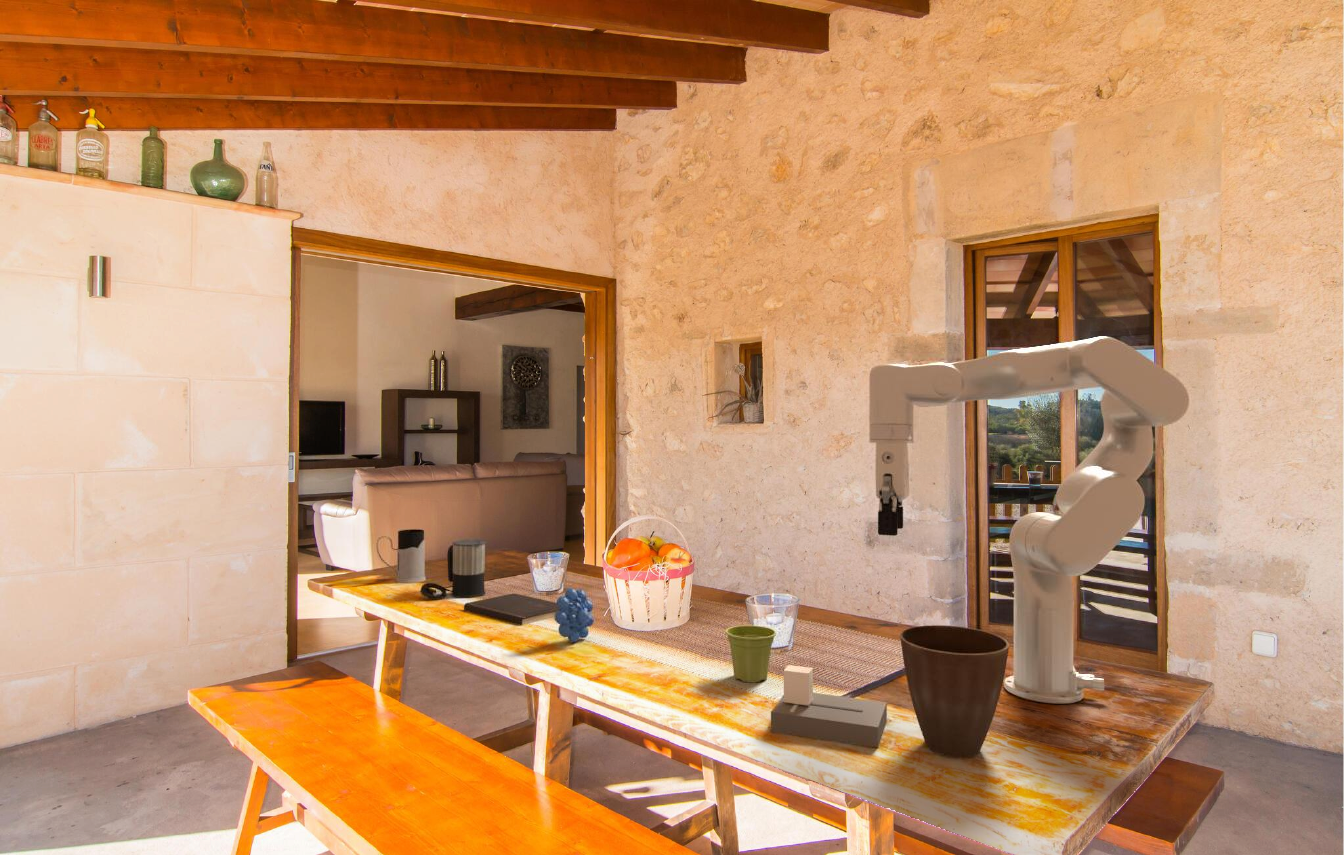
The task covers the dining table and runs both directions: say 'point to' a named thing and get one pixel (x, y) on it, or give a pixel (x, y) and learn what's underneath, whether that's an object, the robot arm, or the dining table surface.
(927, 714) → the plant pot
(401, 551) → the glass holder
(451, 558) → the milk frother
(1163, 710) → the dining table surface
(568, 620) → the grapes
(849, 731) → the block
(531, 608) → the hardcover book
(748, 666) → the plant pot
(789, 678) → the block
